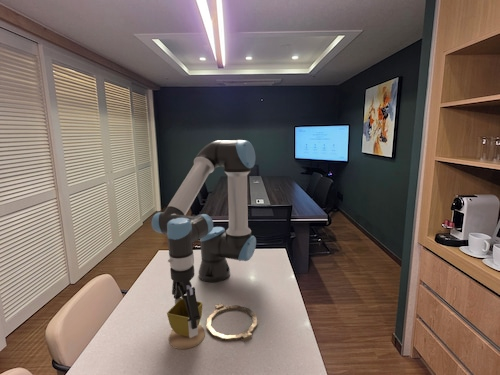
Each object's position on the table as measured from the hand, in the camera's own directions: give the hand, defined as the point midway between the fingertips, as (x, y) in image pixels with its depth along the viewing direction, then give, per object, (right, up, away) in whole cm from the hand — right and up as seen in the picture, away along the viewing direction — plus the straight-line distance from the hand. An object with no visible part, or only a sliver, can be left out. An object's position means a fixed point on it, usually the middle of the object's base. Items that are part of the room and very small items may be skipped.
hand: (186, 325), depth 96 cm
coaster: (0, -4, +1) cm, 4 cm away
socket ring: (+15, -3, +7) cm, 17 cm away
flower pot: (0, -2, 0) cm, 3 cm away
